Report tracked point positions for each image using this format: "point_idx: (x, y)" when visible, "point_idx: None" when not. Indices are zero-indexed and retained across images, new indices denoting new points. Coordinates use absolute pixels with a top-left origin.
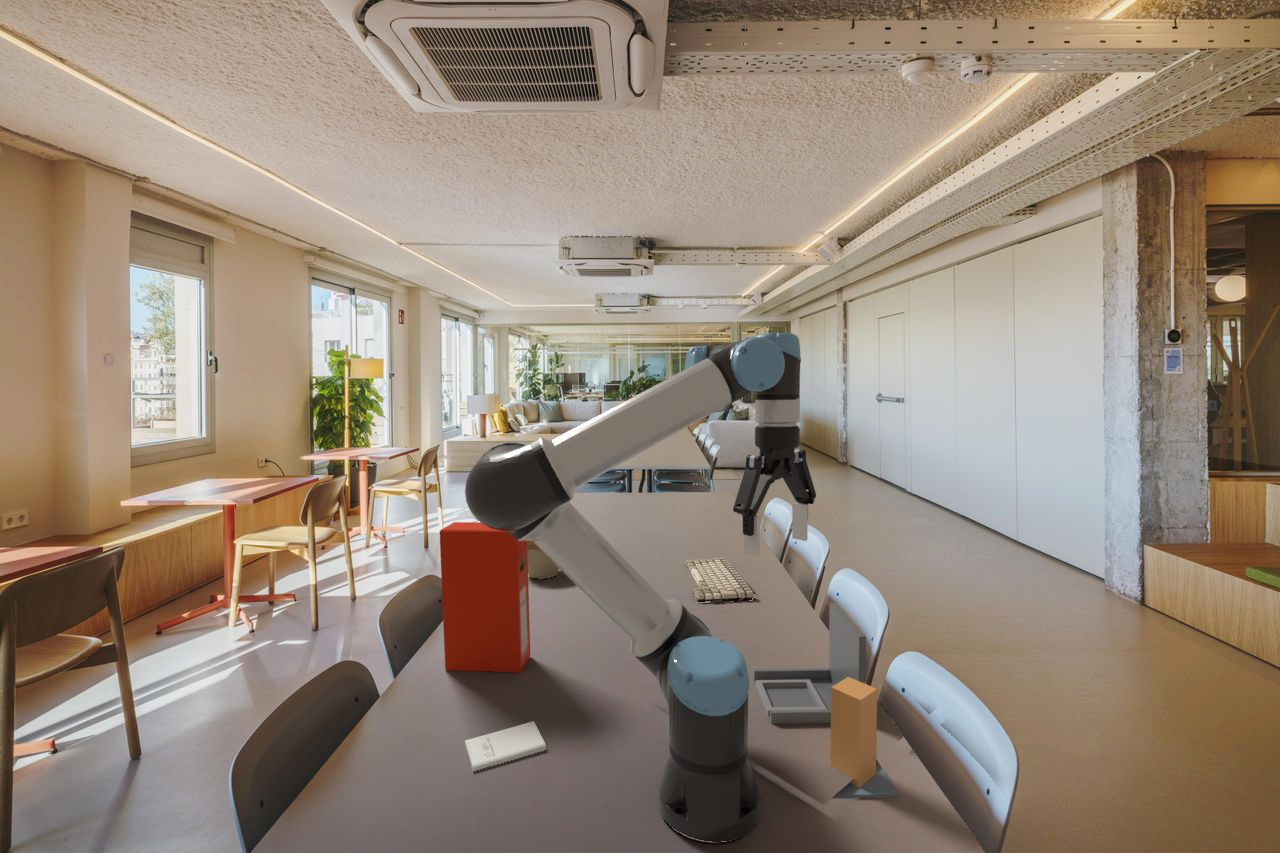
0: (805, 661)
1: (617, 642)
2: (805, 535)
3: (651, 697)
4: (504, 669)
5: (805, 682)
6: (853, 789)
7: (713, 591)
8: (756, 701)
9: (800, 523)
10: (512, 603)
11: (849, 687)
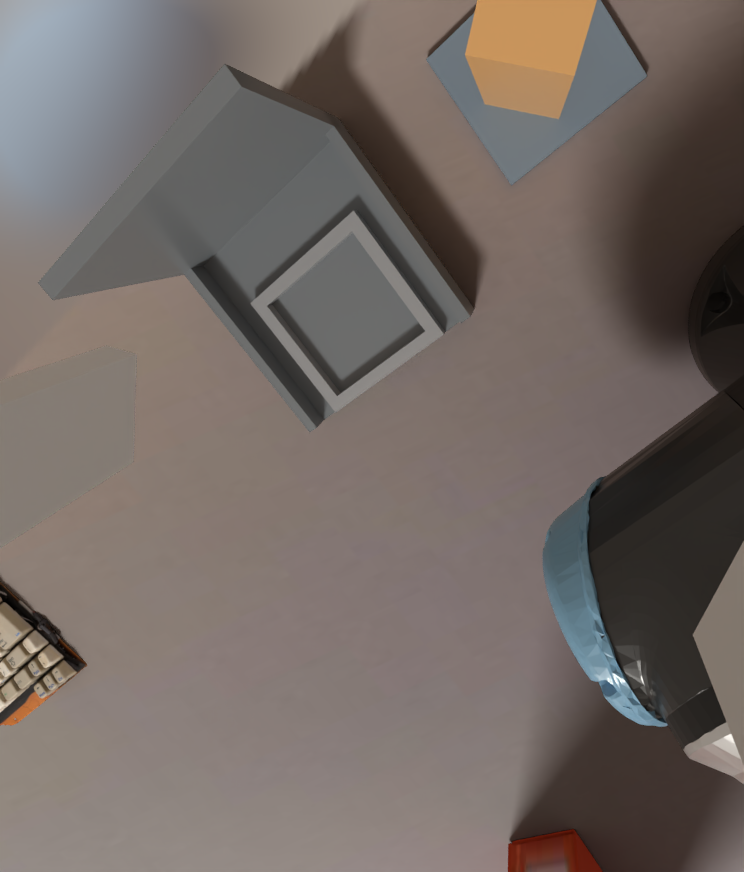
0: (147, 358)
1: (348, 730)
2: (102, 362)
3: (502, 582)
4: (592, 859)
5: (268, 307)
6: (600, 40)
7: (26, 656)
8: (379, 386)
9: (34, 443)
10: None
11: (540, 16)
